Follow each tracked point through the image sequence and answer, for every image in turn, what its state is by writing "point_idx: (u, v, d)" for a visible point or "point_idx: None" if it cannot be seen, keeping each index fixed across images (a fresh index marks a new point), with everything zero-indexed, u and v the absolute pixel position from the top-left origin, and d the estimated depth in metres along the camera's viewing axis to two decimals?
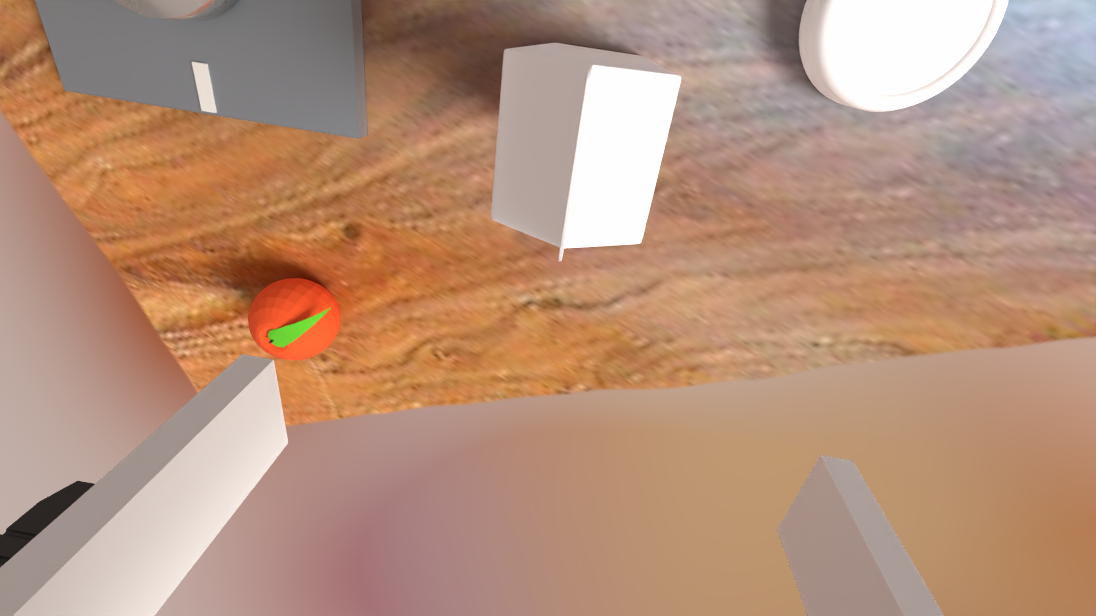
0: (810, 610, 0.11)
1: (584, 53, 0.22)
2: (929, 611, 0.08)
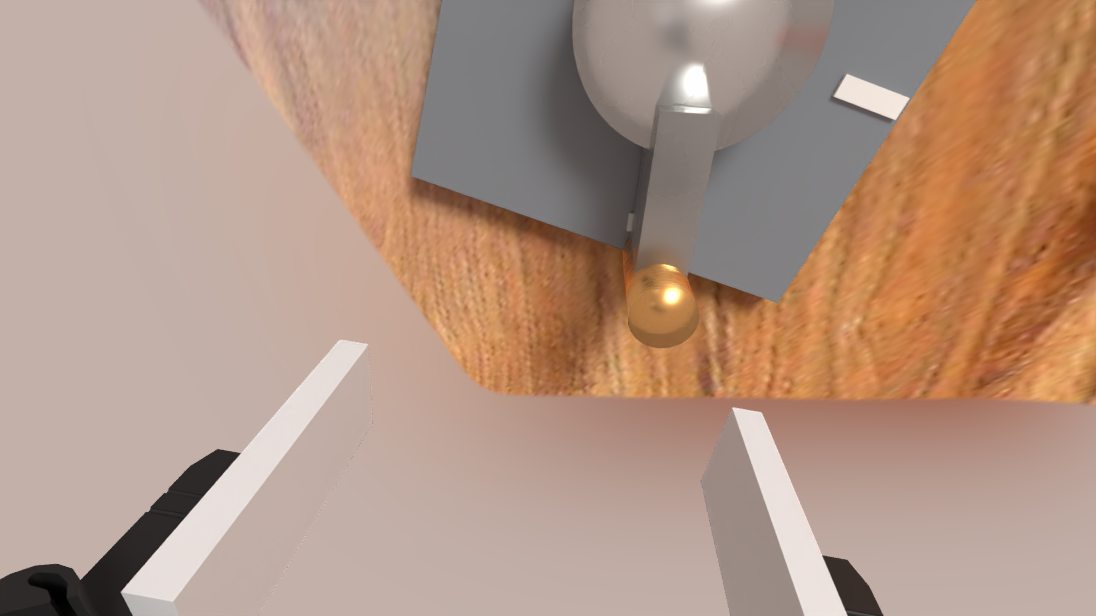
0: (718, 545, 0.12)
1: None
2: (800, 530, 0.09)
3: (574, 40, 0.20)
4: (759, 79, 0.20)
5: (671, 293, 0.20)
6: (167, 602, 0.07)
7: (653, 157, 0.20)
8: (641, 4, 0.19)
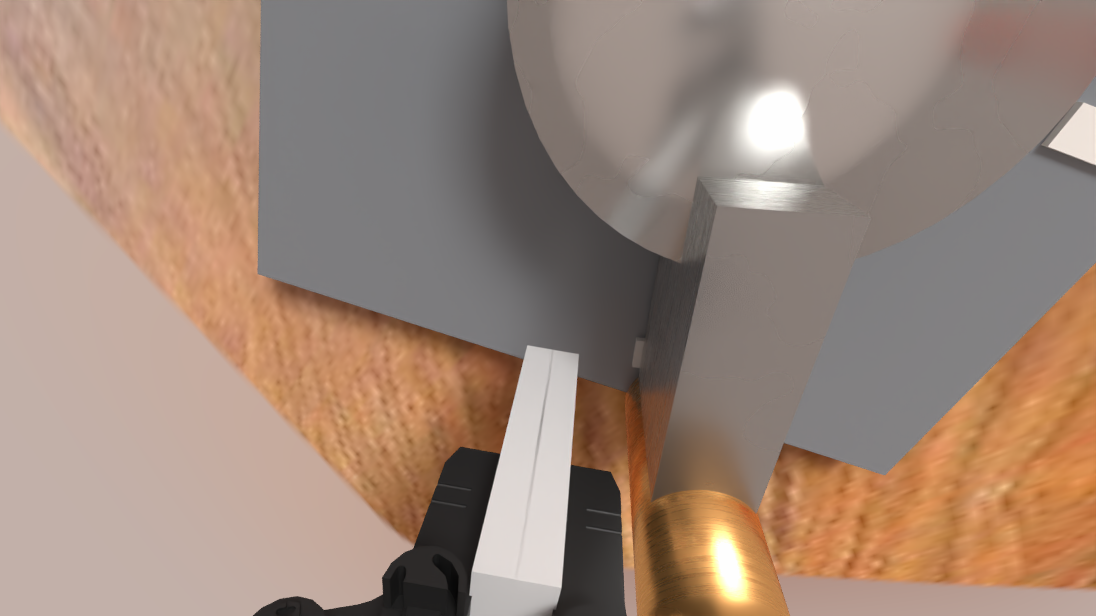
0: None
1: None
2: (561, 443, 0.10)
3: (513, 36, 0.09)
4: (939, 123, 0.09)
5: (737, 605, 0.09)
6: (510, 580, 0.08)
7: (696, 302, 0.09)
8: None
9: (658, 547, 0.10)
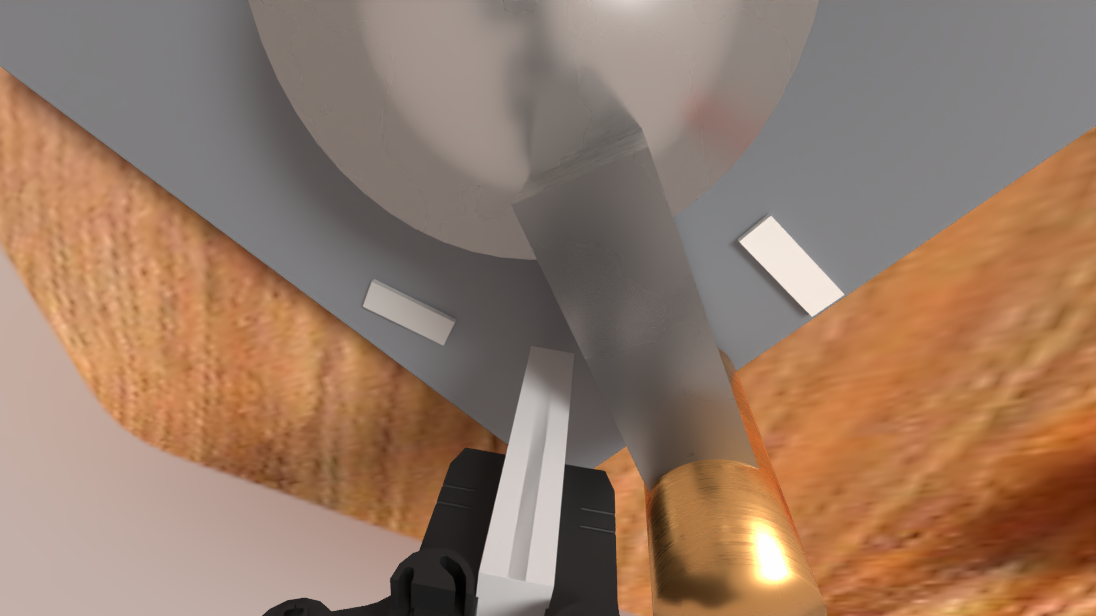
0: None
1: None
2: (555, 442, 0.10)
3: (324, 147, 0.10)
4: (709, 19, 0.08)
5: (726, 574, 0.08)
6: (517, 581, 0.08)
7: (555, 293, 0.09)
8: (388, 17, 0.09)
9: (654, 537, 0.10)
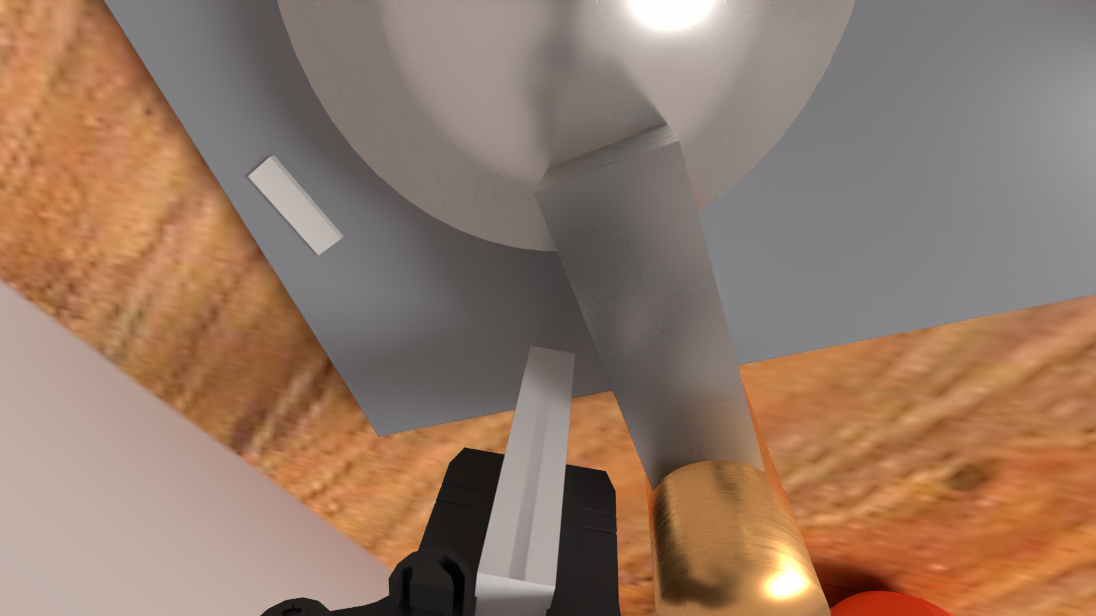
0: None
1: None
2: (556, 442, 0.10)
3: (339, 125, 0.10)
4: (743, 15, 0.08)
5: (734, 575, 0.08)
6: (515, 581, 0.08)
7: (573, 285, 0.09)
8: None
9: (658, 535, 0.10)
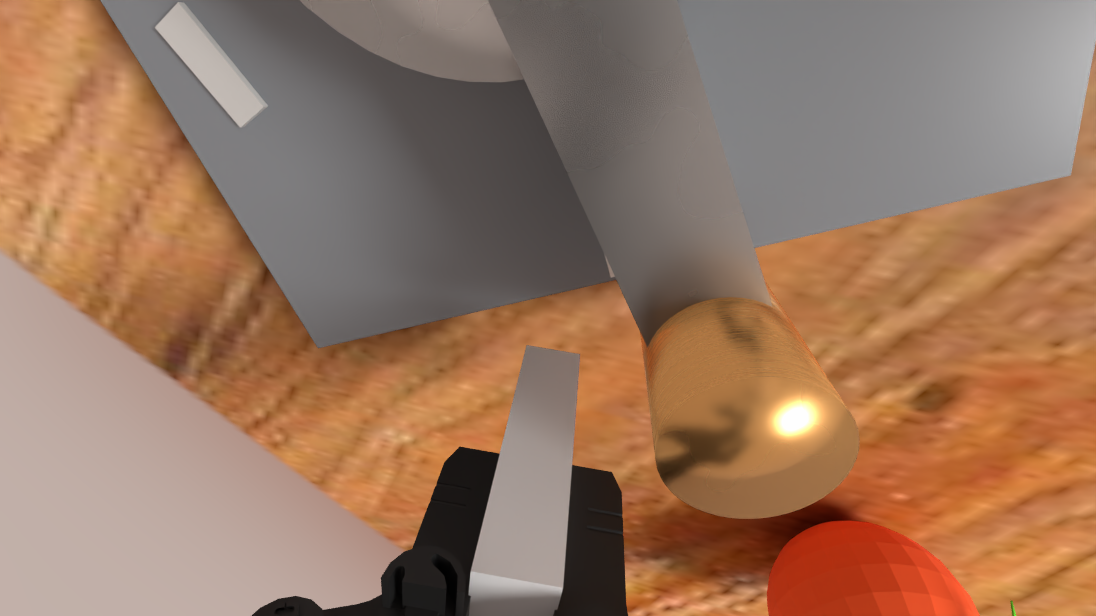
0: None
1: None
2: (563, 443, 0.10)
3: None
4: None
5: (740, 393, 0.07)
6: (509, 580, 0.08)
7: (528, 82, 0.08)
8: None
9: (654, 382, 0.09)
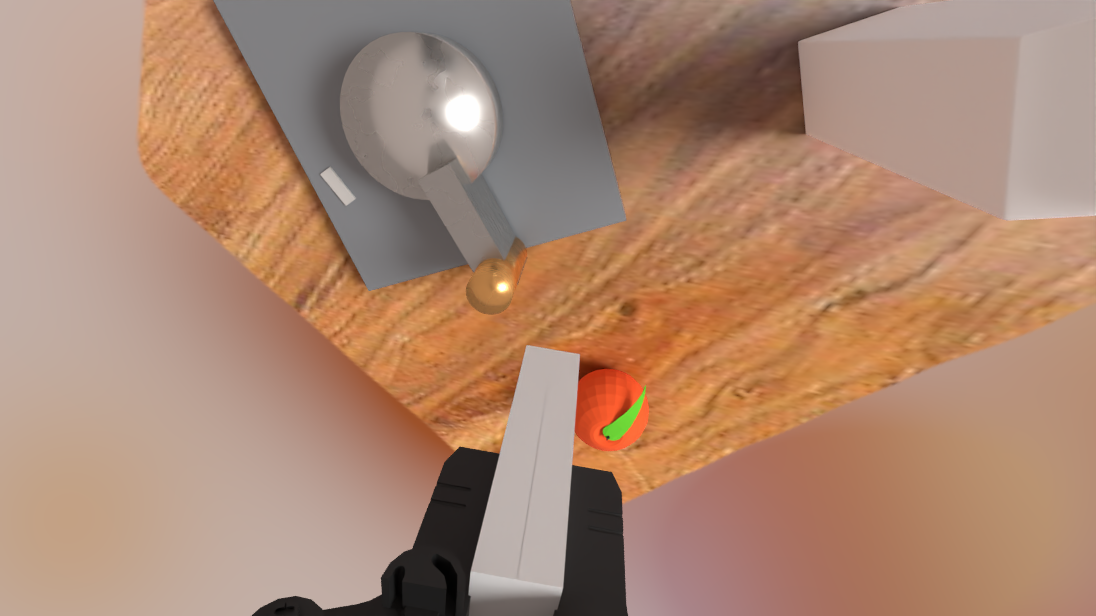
0: None
1: (968, 16, 0.20)
2: (563, 443, 0.10)
3: (364, 167, 0.33)
4: (468, 128, 0.31)
5: (480, 277, 0.31)
6: (509, 580, 0.08)
7: (433, 205, 0.32)
8: (382, 130, 0.31)
9: None
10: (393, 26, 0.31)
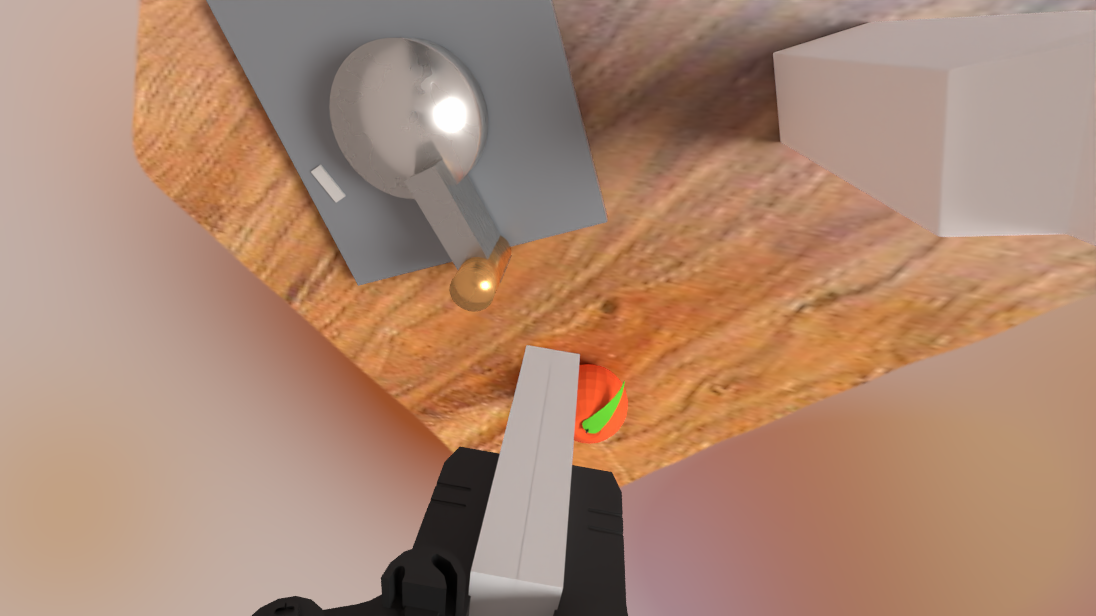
0: None
1: (918, 41, 0.21)
2: (563, 443, 0.10)
3: (353, 166, 0.34)
4: (453, 131, 0.32)
5: (463, 275, 0.32)
6: (509, 580, 0.08)
7: (419, 205, 0.33)
8: (370, 131, 0.32)
9: None
10: (382, 30, 0.32)
